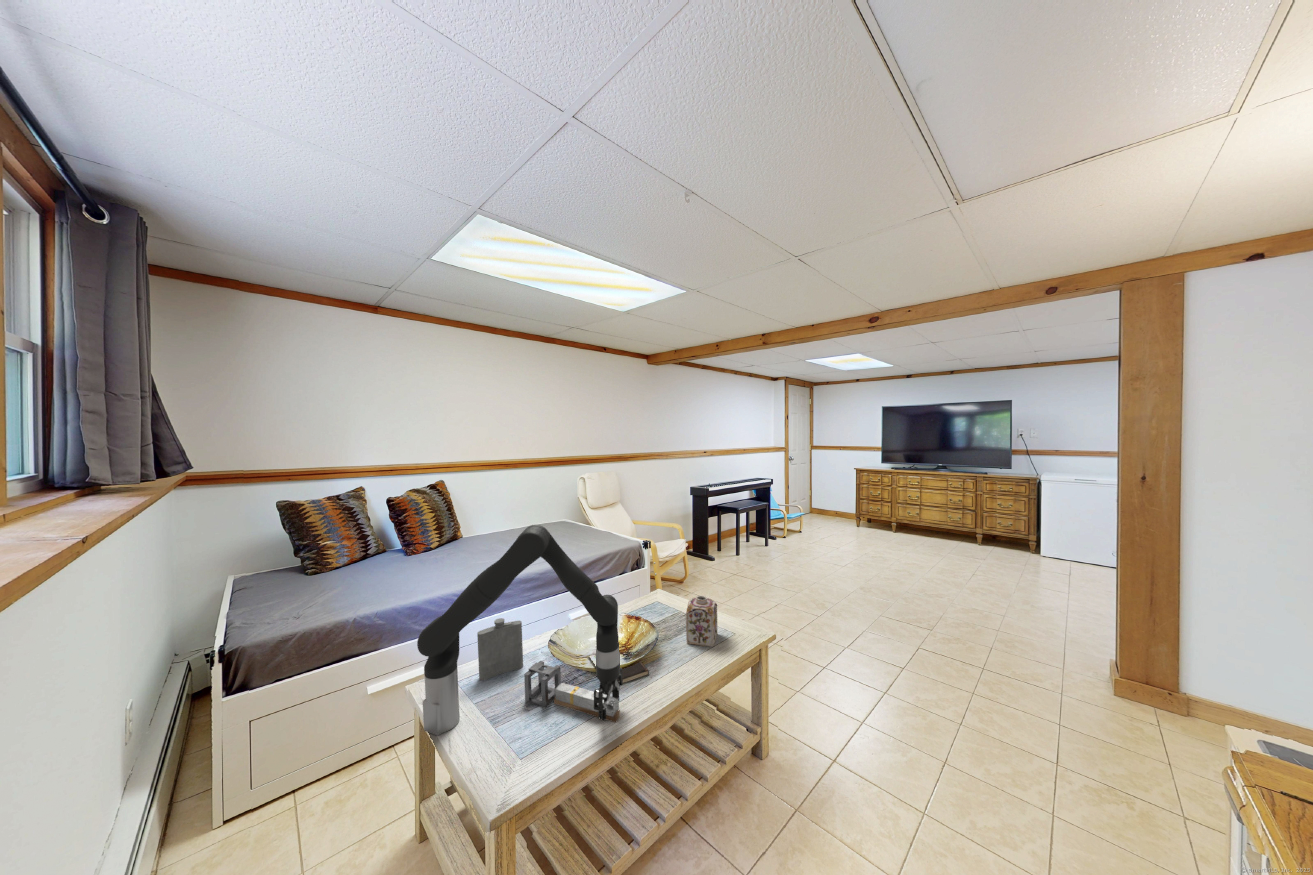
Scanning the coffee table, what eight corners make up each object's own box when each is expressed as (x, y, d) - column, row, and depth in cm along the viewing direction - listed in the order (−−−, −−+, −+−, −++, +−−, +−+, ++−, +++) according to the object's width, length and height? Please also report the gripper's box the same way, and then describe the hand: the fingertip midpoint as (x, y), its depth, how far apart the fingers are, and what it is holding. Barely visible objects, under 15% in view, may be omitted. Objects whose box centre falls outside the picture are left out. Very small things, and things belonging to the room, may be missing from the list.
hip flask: (480, 681, 153) (477, 628, 152) (478, 676, 157) (475, 623, 156) (524, 667, 162) (522, 616, 161) (521, 662, 165) (519, 612, 164)
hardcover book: (609, 689, 148) (609, 683, 148) (587, 657, 168) (587, 652, 168) (649, 675, 156) (649, 669, 156) (623, 646, 176) (623, 641, 176)
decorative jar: (685, 643, 176) (685, 601, 175) (691, 630, 187) (690, 590, 186) (714, 647, 173) (713, 605, 172) (718, 633, 184) (717, 593, 183)
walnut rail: (615, 722, 131) (615, 716, 131) (554, 703, 141) (554, 697, 141) (619, 716, 134) (619, 710, 134) (559, 698, 143) (558, 692, 143)
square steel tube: (619, 709, 134) (618, 697, 134) (613, 716, 131) (612, 705, 131) (562, 692, 143) (561, 681, 143) (555, 699, 140) (555, 688, 139)
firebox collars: (545, 708, 138) (544, 678, 138) (525, 701, 142) (524, 672, 141) (561, 692, 146) (560, 664, 146) (541, 686, 150) (540, 658, 149)
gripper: (606, 676, 125) (608, 728, 126) (628, 651, 138) (630, 699, 139) (585, 670, 128) (587, 722, 129) (608, 647, 141) (610, 693, 142)
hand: (609, 710), depth 134 cm, fingers open, 8 cm apart
